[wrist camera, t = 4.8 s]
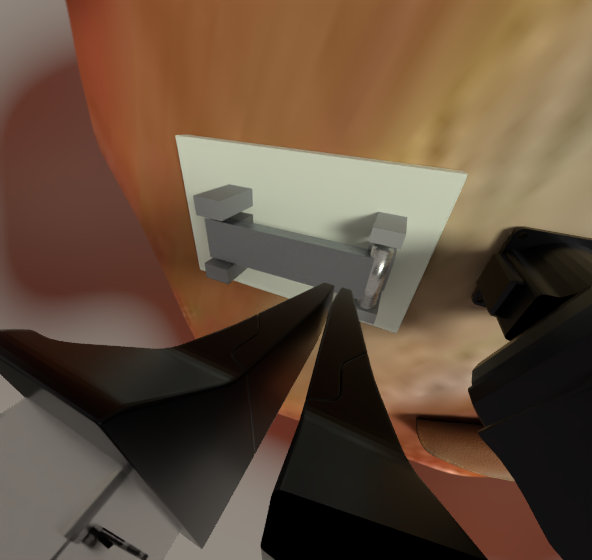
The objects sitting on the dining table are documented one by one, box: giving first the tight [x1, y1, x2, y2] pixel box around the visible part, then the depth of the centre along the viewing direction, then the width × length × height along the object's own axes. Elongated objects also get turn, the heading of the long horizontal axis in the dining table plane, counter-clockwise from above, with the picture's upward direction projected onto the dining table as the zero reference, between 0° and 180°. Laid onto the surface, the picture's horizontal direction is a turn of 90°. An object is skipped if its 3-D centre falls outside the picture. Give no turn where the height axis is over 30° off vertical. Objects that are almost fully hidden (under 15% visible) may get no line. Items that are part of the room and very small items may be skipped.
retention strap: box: [204, 218, 394, 309], centre depth 19 cm, size 15×5×1 cm, turn 85°
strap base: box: [175, 135, 468, 333], centre depth 21 cm, size 23×14×6 cm, turn 84°
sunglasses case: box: [416, 418, 515, 481], centre depth 25 cm, size 18×7×7 cm, turn 120°
